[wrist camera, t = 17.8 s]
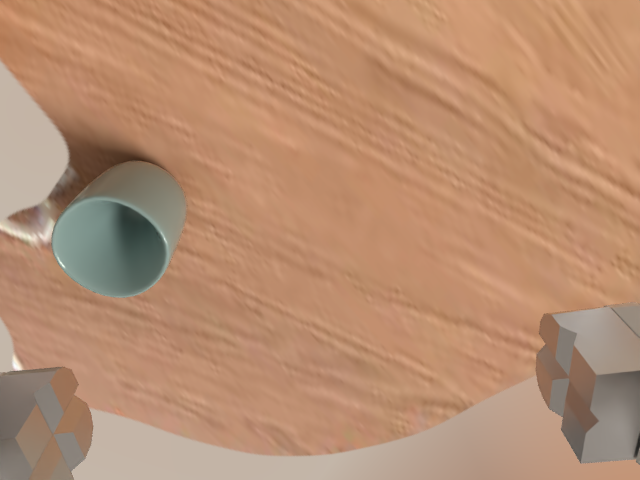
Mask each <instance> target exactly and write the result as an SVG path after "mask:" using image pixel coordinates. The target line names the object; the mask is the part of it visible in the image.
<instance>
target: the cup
mask: <svg viewBox="0 0 640 480" xmlns="http://www.w3.org/2000/svg"><path fill="white" fill-rule="evenodd" d="M186 217H187V200H186V196H185V194H184V191H183V189H182V187H181V185H180V184H179V182H178V181H177V180H176V179H175V178H174V177H173V176H172V175H171V174H170V173H169V172H167V171H166V170H164V169H163V168H161V167H159V166H157V165H155V164H153V163H150V162H145V161H127V162H122V163H119V164H117V165H115V166H113V167H111V168H109V169H107V170H106V171H104V172H103V173H102V174H100V175H99V176H98V177H96V178H95V179H94V180H93V181H91V182H90V183H89V184H88V185H87V186H86V187H85V188H84V189H83V190H82V191H81V192H80V193H79V194H78V195H77V196H76V197H75V198H74V199H73V200H72V201H71V202H70V203H69V205H68V206H67V207H66V208H65V209H64V210H63V212H62V213H61V214H60V216H59V218H58V220H57V221H56V223H55V226H54V229H53V233H52V243H51V245H52V250H53V254H54V256H55V258H56V260H57V262H58V264H59V265H60V267H61V268H62V269H63V271H64V272H65V273H66V274H67V275H68V276H69V277H71V278H72V279H73V280H74V281H75V282H77V283H78V284H80V285H81V286H83V287H85V288H87V289H89V290H91V291H93V292H95V293H98V294H101V295H104V296H110V297H123V298H125V297H131V296H136V295H138V294H140V293H143V292H145V291H146V290H148V289H149V288H151V287H152V286H153V285H154V284H155V283H156V282H157V281H158V280H159V279H160V278H161V277H162V276H163V274H164V273H165V271H166V270H167V268H168V266H169V264H170V262H171V260H172V258H173V255H174V253H175V251H176V248H177V246H178V243H179V241H180V238H181V236H182V233H183V230H184V227H185V223H186Z"/></svg>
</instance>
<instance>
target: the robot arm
mask: <svg viewBox="0 0 640 480" xmlns="http://www.w3.org/2000/svg"><path fill="white" fill-rule="evenodd" d="M539 334H540V336H541V337H542V339H543V341H544V342H545V345H544V346H543V348H542V349H541V350H540V351H539V352H538V353H537V357H536V375H537V381H538V386H539V389H540V391H541V394H542V396H543V399H544V401H545V402H546V404H547V406H548V408H549V409H550V410H552V411H553V412H555V413H557V414H558V415H560V416H562V417H563V420H562V427H561V430H562V432H563V434H564V436H565V437H566V439H567V441H568V442H569V444H570V446H571V448H572V449H573V451H574V453H575V454H576V456H577V458H578V460H579V461H580V463H593V462H606V461H619V460H632V459H636V462H637V463H638V464H639V465H640V304H638V303H636V302H630V303H622V304H615V305H608V306H604V307H599V308H591V309H582V310H573V311H565V312H556V313H547V314H544V315H543V317H542V319H541V321H540V329H539ZM78 385H79V384H78V382H77V380H76V378H75V376H74V374H73V372H72V370H71V369H68V368H66V367H56V368H44V369H33V370H22V371H10V372H7V373H5V372H3V373H0V480H74V478H73V475H72V473H71V471H72V470H73V469H74V468H75V467H76V466H78V465H79V464H80V463H81V462H82V461H83V460H84V459H85V458H86V456H87V453H88V451H89V448H90V446H91V441H92V432H93V422H92V416H91V412H90V410H89V407H88V405H87V403H85V402H84V401H83V400H81V399H80V398H78V397H77V396H75V395H74V394H75V391H76V389H77V387H78Z"/></svg>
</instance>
